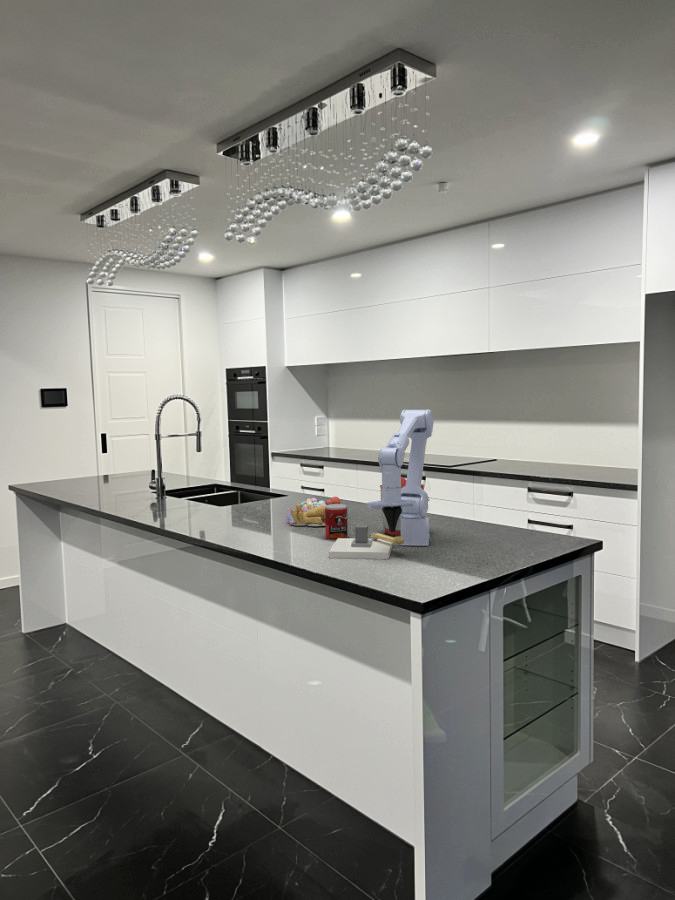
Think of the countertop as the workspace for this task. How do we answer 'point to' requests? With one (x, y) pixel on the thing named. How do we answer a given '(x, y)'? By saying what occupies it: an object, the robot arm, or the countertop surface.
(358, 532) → the plug
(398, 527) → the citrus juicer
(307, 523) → the candy landscape model
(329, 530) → the canned food
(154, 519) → the countertop surface
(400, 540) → the clip
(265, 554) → the countertop surface
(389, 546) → the socket board
